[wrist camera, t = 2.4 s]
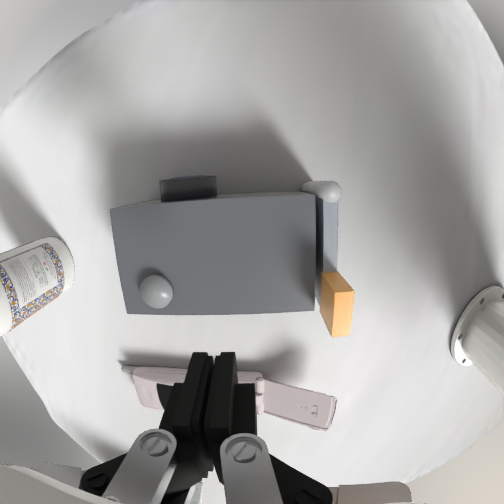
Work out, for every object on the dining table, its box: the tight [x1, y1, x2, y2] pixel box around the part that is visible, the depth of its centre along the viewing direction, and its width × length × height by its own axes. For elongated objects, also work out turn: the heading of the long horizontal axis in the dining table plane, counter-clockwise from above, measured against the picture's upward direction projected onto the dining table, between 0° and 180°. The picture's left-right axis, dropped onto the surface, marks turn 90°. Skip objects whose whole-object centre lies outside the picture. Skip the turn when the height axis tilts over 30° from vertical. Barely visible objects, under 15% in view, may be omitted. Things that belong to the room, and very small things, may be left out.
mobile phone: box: [121, 366, 337, 431], centre depth 28 cm, size 6×6×25 cm
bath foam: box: [0, 237, 75, 336], centre depth 18 cm, size 7×7×20 cm
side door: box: [302, 181, 354, 337], centre depth 20 cm, size 1×9×11 cm, turn 3°
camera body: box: [110, 175, 316, 315], centre depth 22 cm, size 14×10×9 cm
